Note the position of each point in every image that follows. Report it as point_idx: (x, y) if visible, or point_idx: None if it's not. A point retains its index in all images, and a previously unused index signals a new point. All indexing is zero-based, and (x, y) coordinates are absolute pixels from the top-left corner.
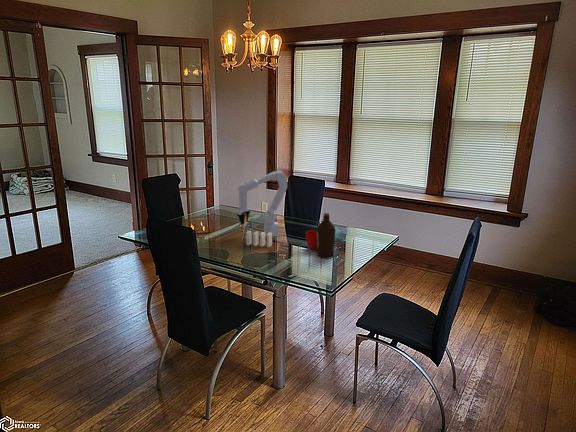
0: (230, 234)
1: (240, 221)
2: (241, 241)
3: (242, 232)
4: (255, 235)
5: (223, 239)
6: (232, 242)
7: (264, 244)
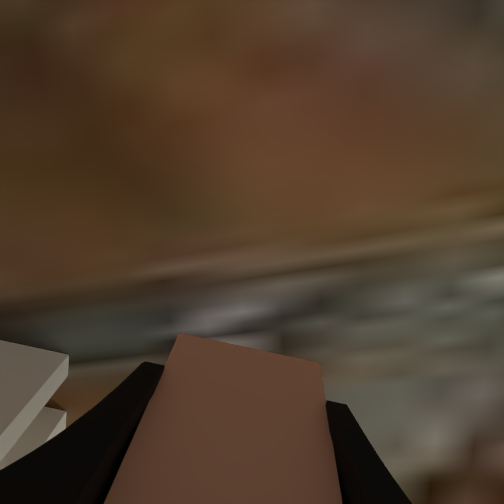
0: (363, 61)
1: (113, 396)
2: (86, 270)
3: (455, 220)
4: None
5: (111, 10)
6: (23, 174)
7: None
